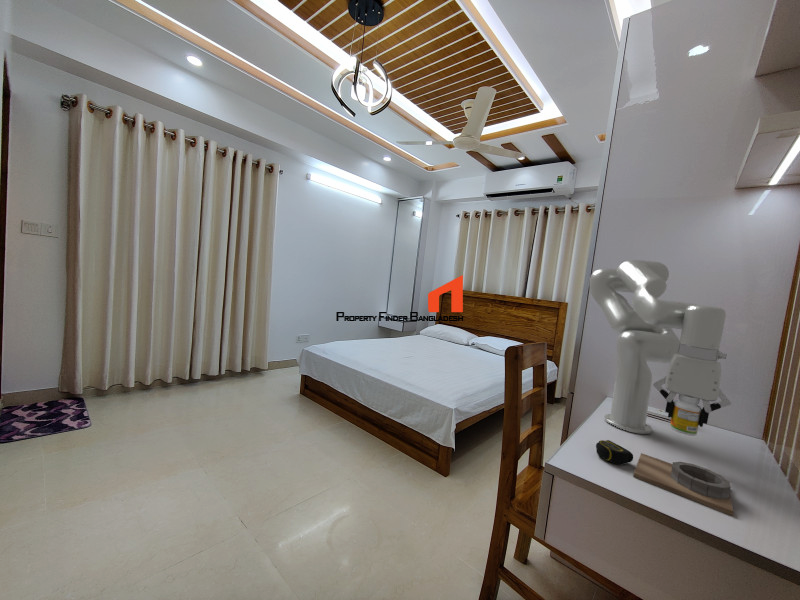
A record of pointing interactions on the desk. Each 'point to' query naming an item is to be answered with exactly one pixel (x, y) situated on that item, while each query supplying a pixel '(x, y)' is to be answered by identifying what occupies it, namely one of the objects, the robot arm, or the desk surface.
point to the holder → (686, 482)
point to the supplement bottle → (686, 415)
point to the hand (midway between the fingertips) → (684, 419)
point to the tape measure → (613, 452)
